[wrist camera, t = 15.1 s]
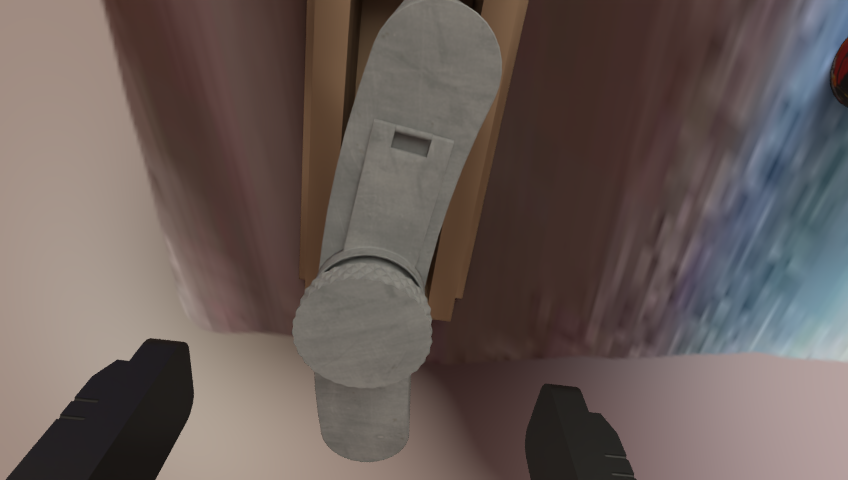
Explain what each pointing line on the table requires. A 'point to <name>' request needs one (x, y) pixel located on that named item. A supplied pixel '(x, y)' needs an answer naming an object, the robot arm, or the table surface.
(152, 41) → the table surface
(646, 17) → the table surface
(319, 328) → the hip flask
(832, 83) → the deodorant
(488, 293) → the table surface
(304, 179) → the walnut open box
